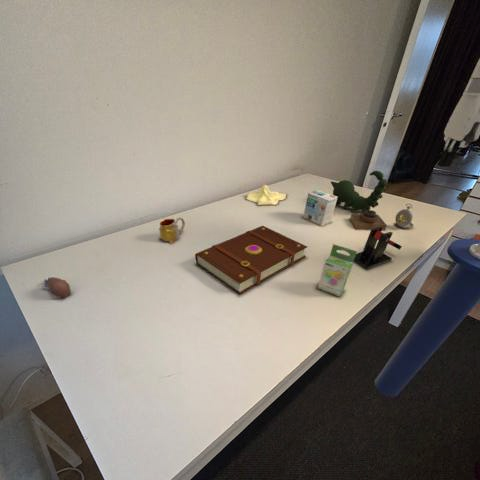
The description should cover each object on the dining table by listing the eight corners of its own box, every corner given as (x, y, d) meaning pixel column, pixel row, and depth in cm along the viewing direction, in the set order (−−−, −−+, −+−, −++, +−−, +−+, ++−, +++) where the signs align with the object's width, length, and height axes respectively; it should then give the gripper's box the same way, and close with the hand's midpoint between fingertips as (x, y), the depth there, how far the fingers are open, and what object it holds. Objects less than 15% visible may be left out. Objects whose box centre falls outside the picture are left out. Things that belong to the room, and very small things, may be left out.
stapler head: (384, 243, 96) (389, 237, 95) (398, 251, 93) (403, 245, 91) (368, 234, 88) (373, 227, 87) (383, 242, 84) (388, 235, 83)
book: (305, 257, 93) (308, 245, 89) (240, 295, 77) (241, 281, 74) (260, 234, 104) (260, 222, 101) (195, 263, 89) (194, 250, 85)
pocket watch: (412, 224, 114) (424, 200, 107) (412, 232, 109) (425, 208, 101) (392, 220, 116) (402, 197, 109) (391, 228, 111) (402, 204, 104)
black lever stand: (372, 250, 97) (384, 222, 90) (390, 261, 92) (404, 232, 85) (349, 258, 93) (359, 229, 85) (366, 269, 88) (379, 240, 81)
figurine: (42, 291, 79) (59, 302, 73) (32, 276, 76) (48, 287, 70) (60, 283, 82) (77, 293, 76) (51, 268, 79) (68, 277, 73)
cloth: (265, 208, 123) (267, 195, 119) (238, 197, 132) (238, 184, 128) (294, 197, 134) (296, 184, 130) (267, 188, 144) (268, 175, 139)
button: (372, 214, 112) (374, 210, 111) (375, 218, 109) (377, 214, 108) (363, 214, 112) (364, 210, 111) (366, 218, 109) (367, 213, 108)
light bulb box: (302, 217, 117) (307, 192, 109) (312, 214, 120) (317, 189, 112) (321, 226, 111) (328, 200, 103) (331, 222, 114) (338, 196, 107)
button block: (376, 219, 117) (380, 210, 114) (384, 230, 110) (388, 220, 107) (349, 219, 117) (352, 210, 114) (356, 229, 110) (359, 219, 107)
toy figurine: (374, 216, 123) (330, 196, 134) (396, 173, 109) (344, 155, 120) (365, 222, 118) (320, 201, 129) (386, 178, 104) (333, 158, 115)
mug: (170, 244, 98) (166, 227, 93) (157, 239, 100) (153, 222, 96) (192, 233, 104) (190, 216, 100) (180, 228, 107) (177, 212, 103)
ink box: (316, 288, 80) (328, 249, 71) (321, 282, 83) (333, 243, 73) (339, 297, 78) (353, 257, 68) (343, 290, 80) (358, 251, 70)
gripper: (517, 90, 64) (469, 173, 77) (479, 86, 74) (442, 160, 87) (486, 89, 64) (443, 172, 77) (452, 85, 75) (420, 159, 87)
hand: (443, 165), depth 82 cm, fingers closed
